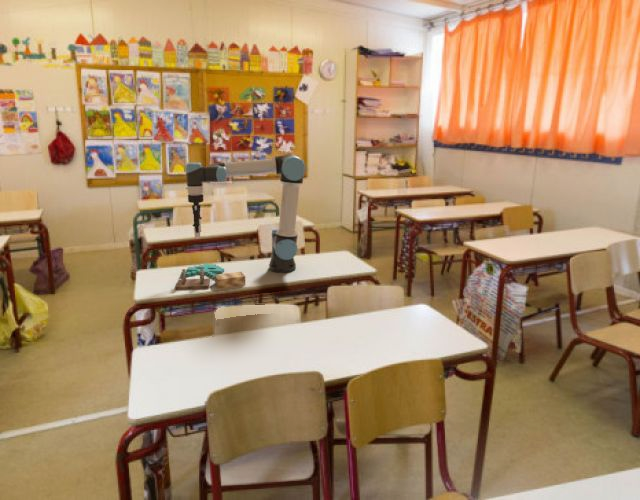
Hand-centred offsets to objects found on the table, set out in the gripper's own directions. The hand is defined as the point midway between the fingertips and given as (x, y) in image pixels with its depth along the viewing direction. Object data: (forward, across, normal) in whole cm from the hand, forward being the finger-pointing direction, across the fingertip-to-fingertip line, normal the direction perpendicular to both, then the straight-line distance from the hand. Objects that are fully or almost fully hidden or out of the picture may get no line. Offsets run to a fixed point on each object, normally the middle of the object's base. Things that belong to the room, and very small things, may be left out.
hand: (198, 235), depth 249 cm
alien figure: (+25, -12, +2) cm, 28 cm away
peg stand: (+24, +7, -4) cm, 26 cm away
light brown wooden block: (+25, +8, +15) cm, 30 cm away
